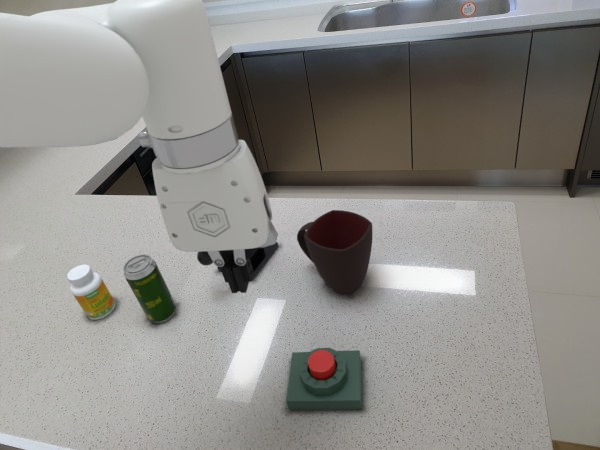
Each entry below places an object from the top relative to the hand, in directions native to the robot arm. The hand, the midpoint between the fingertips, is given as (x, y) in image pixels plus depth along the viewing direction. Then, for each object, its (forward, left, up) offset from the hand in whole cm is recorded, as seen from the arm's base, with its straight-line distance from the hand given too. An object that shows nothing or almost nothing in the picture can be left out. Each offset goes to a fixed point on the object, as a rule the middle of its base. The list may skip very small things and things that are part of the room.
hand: (241, 284), depth 53 cm
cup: (+22, +9, -22) cm, 33 cm away
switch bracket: (+16, +27, -22) cm, 38 cm away
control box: (+5, -4, -22) cm, 23 cm away
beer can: (-3, +29, -22) cm, 36 cm away
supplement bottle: (-10, +40, -22) cm, 47 cm away
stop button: (+5, -4, -18) cm, 20 cm away
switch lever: (+12, +25, -13) cm, 31 cm away
